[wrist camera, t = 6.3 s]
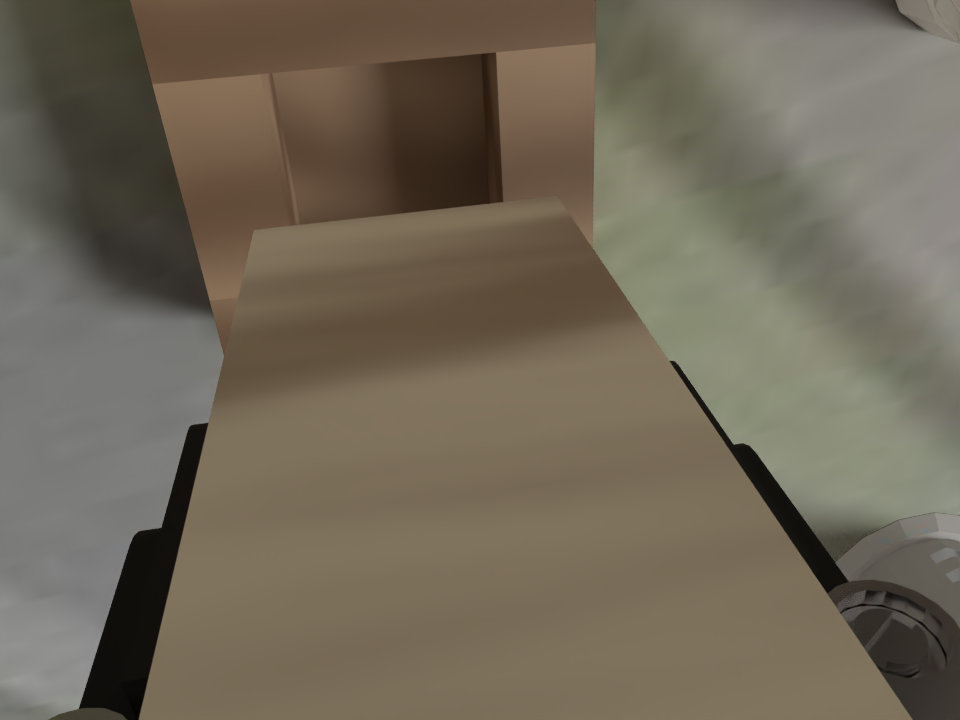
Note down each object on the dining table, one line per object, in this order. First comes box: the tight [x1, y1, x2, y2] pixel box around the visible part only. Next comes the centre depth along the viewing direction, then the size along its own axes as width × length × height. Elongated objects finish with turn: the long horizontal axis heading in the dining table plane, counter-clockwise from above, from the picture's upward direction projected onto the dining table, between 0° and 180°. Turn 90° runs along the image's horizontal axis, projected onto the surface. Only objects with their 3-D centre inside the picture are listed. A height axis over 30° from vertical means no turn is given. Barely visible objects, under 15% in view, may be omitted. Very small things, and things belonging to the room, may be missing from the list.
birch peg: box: [139, 196, 912, 720], centre depth 10 cm, size 5×5×10 cm
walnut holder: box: [130, 0, 596, 355], centre depth 25 cm, size 12×12×4 cm
